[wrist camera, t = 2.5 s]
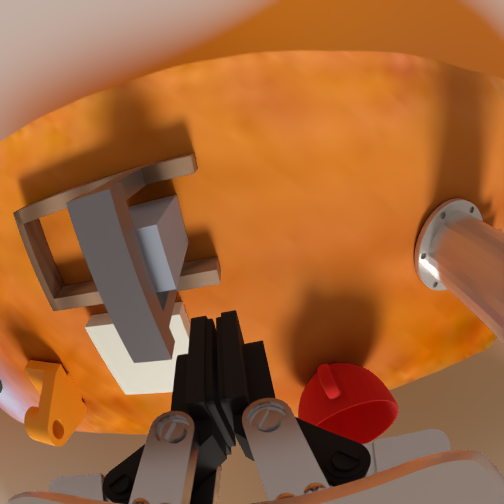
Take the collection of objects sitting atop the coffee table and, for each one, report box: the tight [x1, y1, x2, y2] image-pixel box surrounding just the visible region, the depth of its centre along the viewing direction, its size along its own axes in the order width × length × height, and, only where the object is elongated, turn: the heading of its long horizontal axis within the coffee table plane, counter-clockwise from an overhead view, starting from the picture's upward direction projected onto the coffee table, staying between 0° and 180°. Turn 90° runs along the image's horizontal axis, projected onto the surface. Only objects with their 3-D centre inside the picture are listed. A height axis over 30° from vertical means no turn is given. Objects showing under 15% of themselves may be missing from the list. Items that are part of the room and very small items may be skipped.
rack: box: [13, 153, 221, 311], centre depth 26 cm, size 20×12×3 cm, turn 99°
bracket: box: [24, 360, 87, 447], centre depth 31 cm, size 11×7×12 cm, turn 2°
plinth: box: [85, 301, 190, 395], centre depth 33 cm, size 12×12×2 cm
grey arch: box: [66, 169, 177, 363], centre depth 21 cm, size 3×12×9 cm, turn 10°
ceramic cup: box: [298, 362, 398, 444], centre depth 34 cm, size 13×17×10 cm
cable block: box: [128, 195, 189, 293], centre depth 24 cm, size 5×5×9 cm
